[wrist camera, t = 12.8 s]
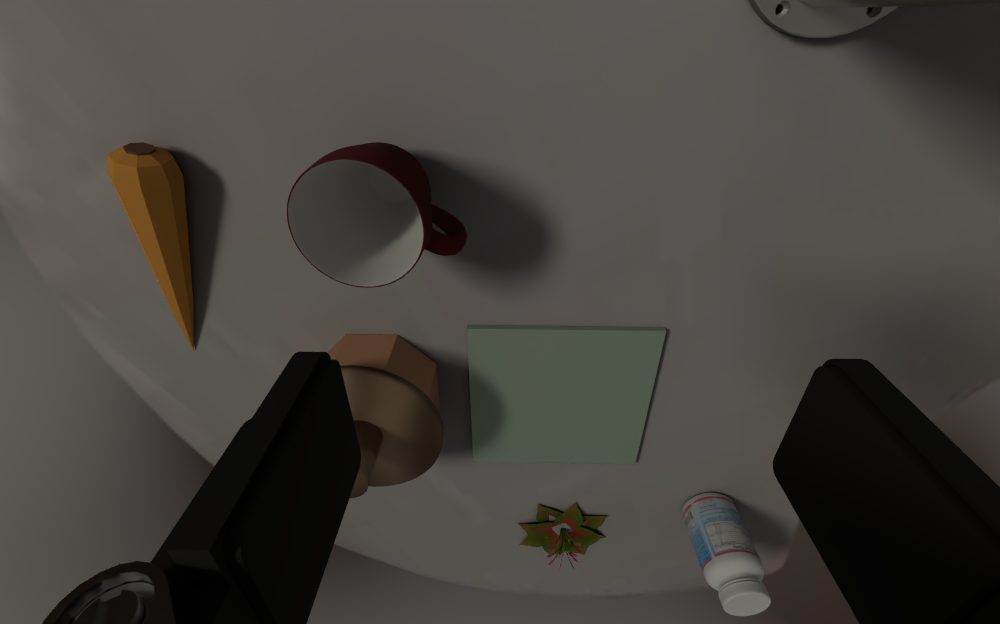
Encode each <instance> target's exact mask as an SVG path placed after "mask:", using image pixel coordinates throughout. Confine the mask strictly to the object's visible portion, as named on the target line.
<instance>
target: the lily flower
mask: <svg viewBox="0 0 1000 624" xmlns="http://www.w3.org/2000/svg"><path fill="white" fill-rule="evenodd" d="M538 506H539V507H538V512H537V516H536V518H537V521H538V522H539V524H535V525H534V524H519V523H518V524H519V525H521V527H522V528H523V529H524V530H526V533H527V534H528V536H527V537H526V538H525V540H524V541H523V543H521V544H519V545H530V546H533V547H540V546H543V548H544V550H545V551H546V552H547V553H549V556H548V557H551V556H552V555H554V554H556V553H557V555H558V554H561V553H562V555H563V553H564V552H565V551H566V553H567V552H568V554H570V556H572V554H573V556H576V557H577V555H576V554H574V553H580V554H583V555H584V553H585V549H587V545H591V544H593V543H595V542H596V541H598V540H599V539H600V538H604V537H605V536H601V535H598V534H595V533H594V532H592V531H591V530H595V529H597V528H598V527H599V526H600V525H601V524H602V523H603V521H604V518H606V517H607V516H598V517H597V516H582V515H581V513H580V510H579V509H578V508H577V503H575V504H574V505H573V506H572V507H571V508H569V510H567V511H565V512H564V513H561V512H558V511H555V510H552V509H550V508H547V507H543V506H541V505H539V504H538ZM549 515H551V516H554V517H557V518H556V519H555V520H554V523H548V520H549ZM583 521H587V522H586V523H585V524H584V525H583V526H582V527H579V526H581V525H582V524H583ZM562 523H566V524H568V525H569V526H570V527H571V529H572V530H573V531H572V532H570V533H567V532H566V531H565V529H562V528H561V530H560V536H558V535H557V534H556V533H555V532H554V531H553V530H552V528H551V527H554V526H556V525H559V524H562ZM545 537H547V538H545ZM571 541H572V542H573V543H575V544H576V545H575V544H573V543H572V542H571ZM550 554H552V555H550ZM568 554H567V555H568ZM557 555H556V556H555V558H556V557H557ZM573 556H572V557H573ZM555 558H554V559H555ZM559 558H560V556H559ZM568 558H569V557H568ZM573 559H574V560H575V561H576V562H578V561H577V560H576V559H575V558H574V557H573ZM569 560H570V559H569ZM553 561H554V560H553ZM553 561H551V562H550V563H549V565H550V564H552V563H553ZM561 562H562V559H561ZM570 563H571V562H570ZM571 565H572V564H571ZM572 567H573V566H572ZM560 568H561V565H560Z"/></svg>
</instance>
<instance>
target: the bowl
mask: <svg viewBox="0 0 1000 624" xmlns="http://www.w3.org/2000/svg"><path fill="white" fill-rule="evenodd" d="M328 354H329V355H330V357H331V359H333V360H338V362H339V364H340V366H345V365H356V366H366V367H373V368H377V369H381V370H385V371H387V372H390V373H393V374H396V375H398V376H400V377H402V378H404V379H406V380H407V381H409V382H411V383H412V384H414V385H415V386H417V387H418V388H419V389H420V390H422V391H423V392H424V393H425V394H426V395H427V396H428V397H429V398H430V400H431V401H432V402H433V403H434V405H435V406H436V408H437V410H438V408H439V403H440V396H439V386H438V375H437V365H436V363H435V362H433V361H432V360H431V359H429V358H428V357H427V356H425V355H424V354H422V353H421V352H420V351H418V350H417V349H416V348H414V347H413V346H412V345H410V344H409V343H408V342H406V341H405V340H404V339H402V338H401V337H400V336H398V335H363V334H346V335H345V336H344V337H343V338H342V339H341V340H340V341H339V342H338V343H337V344H336V345H335V346H334V347H333V348H332V349H331V350H330V351H329V352H328Z"/></svg>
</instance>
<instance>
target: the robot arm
mask: <svg viewBox="0 0 1000 624" xmlns="http://www.w3.org/2000/svg"><path fill="white" fill-rule="evenodd" d="M748 1H749V3H750V5H751V6H752V7H753V9H754V10H755V11H756V12H757V14H758V15H759V16H760V17H761V18H762V20H764V21H765V22H767V23H768V24H769V25H771V26H772V27H774V28H775V29H776V30H779V31H781V32H784V33H787V34H789V35H792V36H798V37H806V38H830V37H835V36H840V35H845V34H849V33H852V32H854V31H857V30H859V29H862V28H864V27H867V26H869V25H871V24H873V23H875V22H876V21H878V20H880V19H881V18H883V17H885V16H887V15H888V14H890V13H892V12H893V11H894V10H895V9H897V8H898V7H899V6H921V5H949V4H976V3H1000V0H748ZM777 5H779V7H780V8H779V11H778V13H777V14H775V9H776V7H777ZM868 7H869V9H868V11H867V8H868ZM360 464H361V450H360V446H359V442H358V437H357V433H356V429H355V425H354V421H353V417H352V412H351V408H350V404H349V400H348V396H347V392H346V388H345V383H344V379H343V375H342V371H341V367H340V364H339V362H338V360H333V359H331V357H330V355H329V354H328V353H327V352H297V353H295V354H294V355H293V356H292V358H291V359H290V361H289V362H288V364H287V365H286V367H285V369H284V370H283V372H282V373H281V375H280V376H279V378H278V379H277V381H276V382H275V384H274V385H273V387H272V388H271V390H270V391H269V393H268V394H267V396H266V398H265V399H264V401H263V402H262V404H261V405H260V407H259V408H258V410H257V411H256V413H255V414H254V416H253V417H252V418H251V419H250V420H248V421H246V422H245V423H244V424H243V426H242V427H241V428H240V429H239V431H238V432H237V434H236V435H235V437H234V438H233V440H232V441H231V443H230V444H229V446H228V447H227V449H226V450H225V452H224V453H223V455H222V456H221V458H220V459H219V461H218V462H217V464H216V465H215V467H214V468H213V470H212V471H211V473H210V475H209V476H208V477H207V479H206V480H205V482H204V483H203V485H202V486H201V488H200V490H199V491H198V492H197V494H196V495H195V497H194V498H193V500H192V501H191V503H190V504H189V506H188V507H187V509H186V510H185V512H184V513H183V515H182V516H181V518H180V519H179V521H178V523H177V524H176V525H175V527H174V528H173V530H172V531H171V533H170V534H169V536H168V537H167V539H166V540H165V542H164V543H163V545H162V546H161V548H160V549H159V551H158V552H157V554H156V555H155V557H154V558H153V560H152V561H151V562H142V561H135V562H129V563H123V564H119V565H116V566H114V567H111V568H109V569H106V570H104V571H101V572H99V573H98V574H96V575H94V576H93V577H91V578H89V579H88V580H86V581H85V582H83V583H81V584H80V585H79V586H77V587H76V588H75V589H74V590H73V591H71V592H70V593H69V594H68V595H67V596H66V597H64V598H63V599H62V600H61V601H60V602H59V603H58V604H57V605H56V607H55V608H54V609H53V610H52V612H51V613H50V614H49V615H48V616H47V617H46V618H45V620H44V621H43V623H42V624H306V623H307V621H308V617H309V615H310V612H311V609H312V606H313V603H314V600H315V597H316V594H317V591H318V588H319V585H320V582H321V580H322V577H323V574H324V571H325V568H326V565H327V562H328V559H329V556H330V553H331V550H332V548H333V545H334V542H335V539H336V536H337V533H338V530H339V527H340V524H341V521H342V518H343V515H344V512H345V510H346V507H347V504H348V501H349V498H350V495H351V492H352V489H353V486H354V483H355V480H356V477H357V475H358V472H359V468H360ZM773 470H774V474H775V476H776V478H777V480H778V482H779V484H780V485H781V487H782V489H783V491H784V492H785V494H786V496H787V498H788V499H789V501H790V503H791V505H792V506H793V508H794V510H795V512H796V513H797V515H798V517H799V519H800V520H801V522H802V524H803V525H804V527H805V529H806V531H807V532H808V534H809V536H810V538H811V539H812V541H813V543H814V545H815V546H816V548H817V550H818V552H819V553H820V555H821V557H822V559H823V560H824V562H825V564H826V566H827V567H828V569H829V571H830V573H831V574H832V576H833V578H834V580H835V581H836V583H837V585H838V587H839V588H840V590H841V592H842V594H843V595H844V597H845V599H846V600H847V602H848V604H849V606H850V608H851V609H852V611H853V613H854V615H855V616H856V618H857V620H858V622H859V623H860V624H1000V487H999V486H998V485H997V484H996V483H995V482H994V481H993V480H992V479H991V478H990V477H989V476H988V475H987V474H985V473H984V472H983V471H982V470H981V469H980V468H979V467H978V466H977V465H976V464H975V463H974V462H973V461H972V460H971V459H970V458H969V457H968V456H967V455H966V454H965V453H964V452H962V450H961V449H960V448H959V447H957V446H956V445H955V444H954V443H953V442H952V441H951V440H950V439H949V438H948V437H947V436H946V435H945V434H944V433H943V432H942V431H941V430H940V429H939V428H938V427H937V426H936V425H935V424H934V423H933V422H932V421H930V420H929V419H928V418H927V417H926V416H925V415H924V414H923V413H922V412H921V411H920V410H919V409H918V408H917V407H916V406H915V405H914V404H913V403H912V402H911V401H910V400H909V399H908V398H907V397H906V396H905V395H904V394H902V393H901V392H900V391H899V390H898V389H897V388H896V387H895V386H894V385H893V384H892V383H891V382H890V381H889V380H888V379H887V378H886V377H885V376H884V375H883V374H882V373H881V372H880V371H879V370H878V369H877V368H876V367H874V366H873V365H872V364H871V363H870V362H868V361H867V360H863V359H830V360H828V361H826V362H825V363H824V364H823V366H821V367H818V368H817V369H816V370H815V372H814V374H813V376H812V378H811V380H810V382H809V384H808V386H807V388H806V391H805V393H804V395H803V397H802V399H801V401H800V403H799V406H798V408H797V410H796V412H795V414H794V416H793V418H792V420H791V423H790V425H789V427H788V429H787V431H786V433H785V435H784V438H783V440H782V442H781V444H780V446H779V448H778V450H777V453H776V455H775V457H774V460H773Z"/></svg>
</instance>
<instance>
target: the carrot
mask: <svg viewBox="0 0 1000 624" xmlns="http://www.w3.org/2000/svg"><path fill="white" fill-rule="evenodd" d="M108 174H109V176H110V178H111V181H112V183H113V185H114V187H115V189H116V191H117V194H118V196H119V198H120V200H121V202H122V204H123V207H124V209H125V211H126V213H127V215H128V217H129V220H130V222H131V224H132V226H133V228H134V230H135V233H136V235H137V237H138V239H139V241H140V244H141V246H142V248H143V250H144V252H145V254H146V257H147V259H148V261H149V263H150V265H151V267H152V270H153V272H154V274H155V276H156V278H157V280H158V283H159V285H160V287H161V289H162V291H163V293H164V296H165V298H166V300H167V302H168V304H169V306H170V308H171V310H172V312H173V314H174V316H175V317H176V319H177V321H178V323H179V325H180V327H181V328H182V330H183V332H184V334H185V336H186V338H187V339H188V341H189V343H190V345H191V347H192V349H193V350H194V303H193V290H192V277H191V265H190V252H189V239H188V227H187V214H186V202H185V189H184V176H183V174H182V173H181V171H180V169H179V167H178V165H177V163H176V161H175V159H174V158H173V156H172V155H171V154H170V153H169V151H168V150H165V149H161V148H156V147H154V146H153V145H151V144H146V143H129V144H127V145H125V146H123V147H121V148H119V149H117V150H115V151H113V152H111V153H109V154H108Z"/></svg>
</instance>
